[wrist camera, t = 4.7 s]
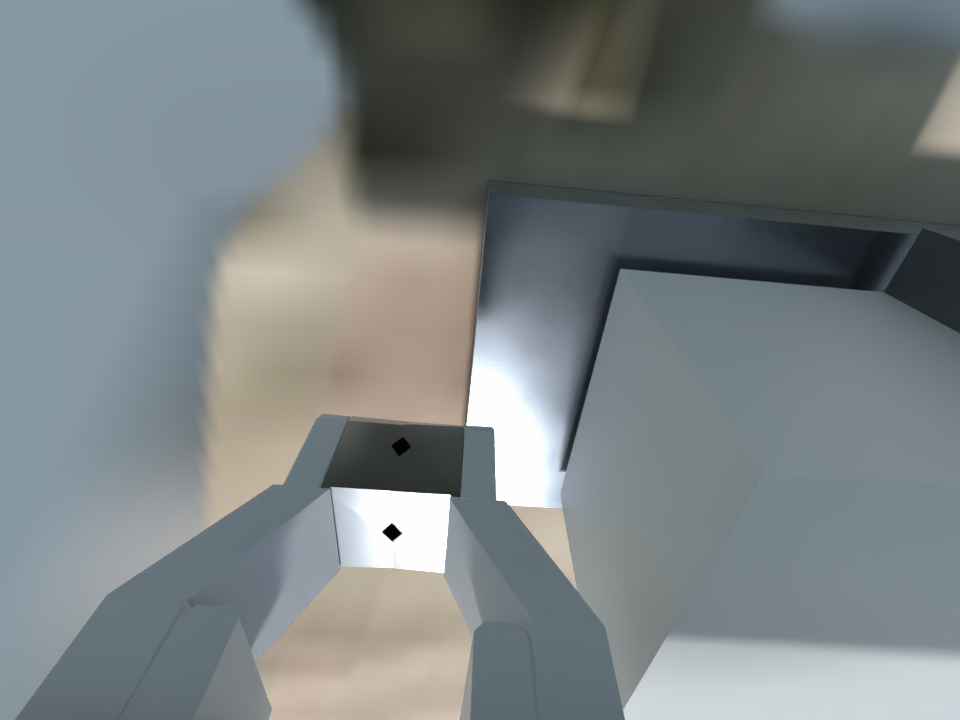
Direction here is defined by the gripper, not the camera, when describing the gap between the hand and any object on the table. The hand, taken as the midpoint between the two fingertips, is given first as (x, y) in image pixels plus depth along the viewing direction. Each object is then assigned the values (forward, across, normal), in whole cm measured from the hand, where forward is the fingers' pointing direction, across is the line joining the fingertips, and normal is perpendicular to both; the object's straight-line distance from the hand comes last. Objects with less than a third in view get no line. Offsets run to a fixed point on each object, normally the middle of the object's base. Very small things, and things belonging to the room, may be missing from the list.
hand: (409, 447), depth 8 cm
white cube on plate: (+2, -6, 0) cm, 7 cm away
